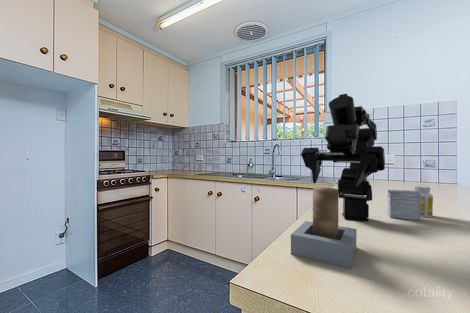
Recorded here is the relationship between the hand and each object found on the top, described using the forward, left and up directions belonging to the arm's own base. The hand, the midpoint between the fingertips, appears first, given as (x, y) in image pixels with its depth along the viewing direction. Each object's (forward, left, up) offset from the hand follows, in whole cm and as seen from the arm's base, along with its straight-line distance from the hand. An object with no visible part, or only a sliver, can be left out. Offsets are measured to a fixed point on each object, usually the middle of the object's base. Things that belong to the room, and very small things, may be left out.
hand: (333, 183), depth 52 cm
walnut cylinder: (-2, -6, -13) cm, 15 cm away
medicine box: (+24, +28, -14) cm, 39 cm away
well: (-2, -6, -13) cm, 15 cm away
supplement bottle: (+31, +33, -14) cm, 47 cm away
